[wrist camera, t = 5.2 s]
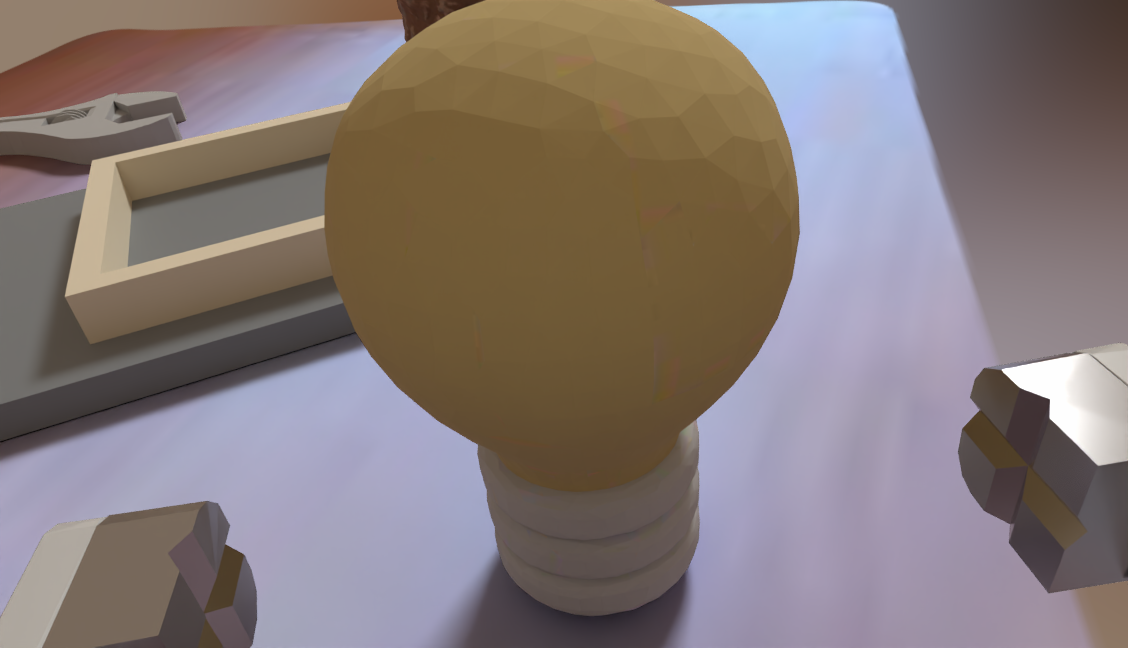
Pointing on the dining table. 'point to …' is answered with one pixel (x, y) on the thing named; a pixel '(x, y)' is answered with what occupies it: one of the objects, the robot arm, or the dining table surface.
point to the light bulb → (568, 266)
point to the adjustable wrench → (95, 128)
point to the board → (167, 270)
